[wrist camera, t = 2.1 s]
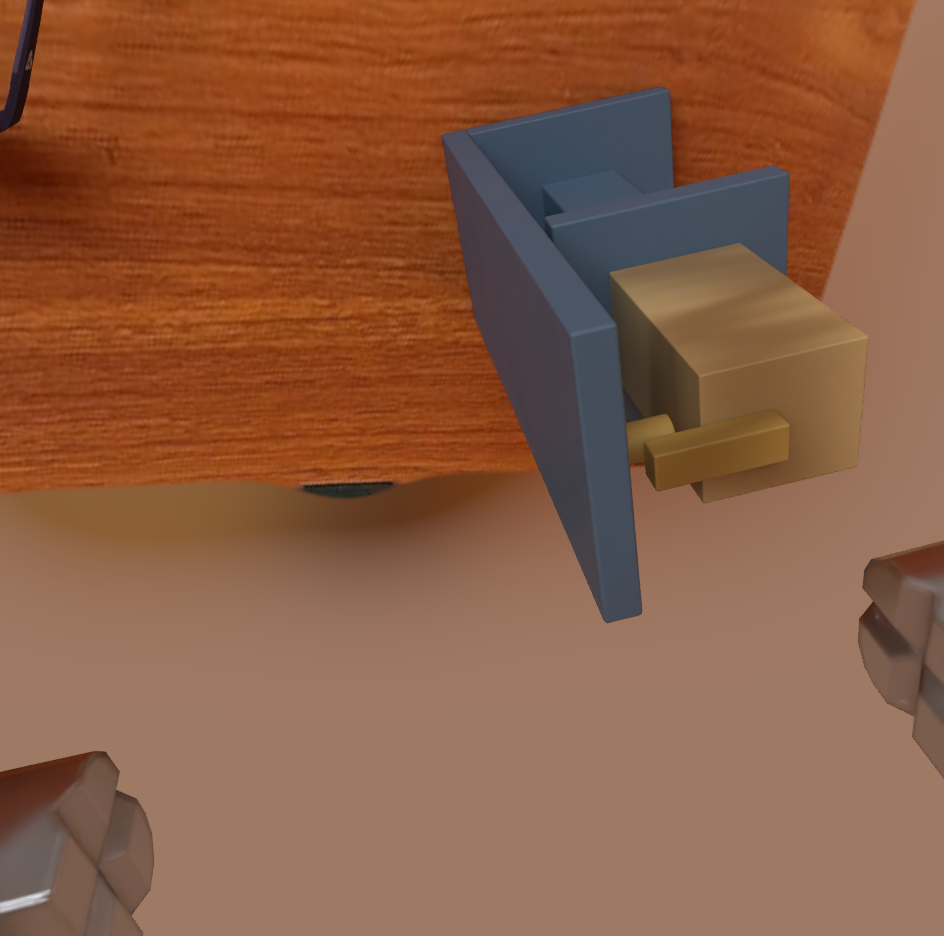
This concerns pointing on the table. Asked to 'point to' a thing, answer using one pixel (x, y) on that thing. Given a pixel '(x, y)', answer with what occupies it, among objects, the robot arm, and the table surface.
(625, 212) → the bracket
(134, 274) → the table surface
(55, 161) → the table surface
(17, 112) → the sunglasses
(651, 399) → the tan block with peg
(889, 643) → the robot arm
